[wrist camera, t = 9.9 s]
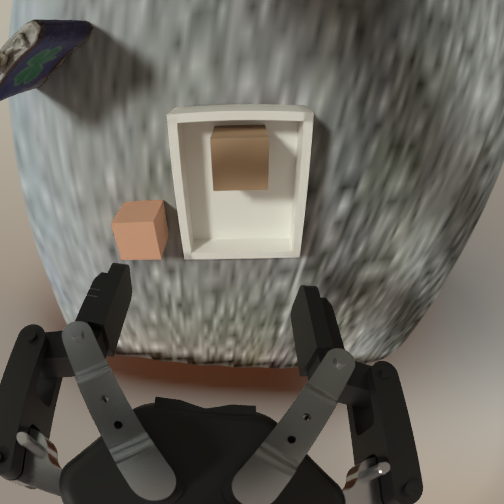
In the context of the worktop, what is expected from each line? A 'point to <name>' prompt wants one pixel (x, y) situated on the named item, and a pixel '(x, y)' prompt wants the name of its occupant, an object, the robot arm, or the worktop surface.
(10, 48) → the flask
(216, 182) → the walnut block
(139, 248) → the terracotta block
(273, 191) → the tray
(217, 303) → the worktop surface
